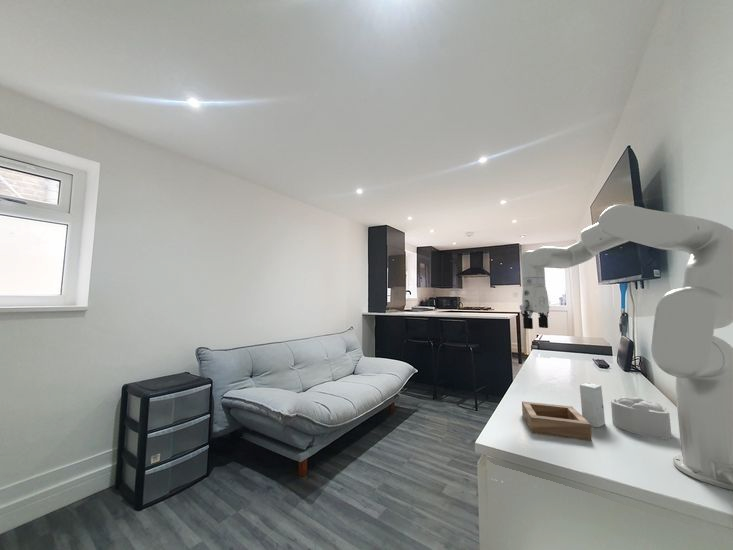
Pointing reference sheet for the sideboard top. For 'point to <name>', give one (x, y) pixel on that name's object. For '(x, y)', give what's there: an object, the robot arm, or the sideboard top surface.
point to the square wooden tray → (556, 420)
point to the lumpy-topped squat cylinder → (641, 417)
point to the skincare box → (592, 404)
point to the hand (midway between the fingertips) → (536, 328)
